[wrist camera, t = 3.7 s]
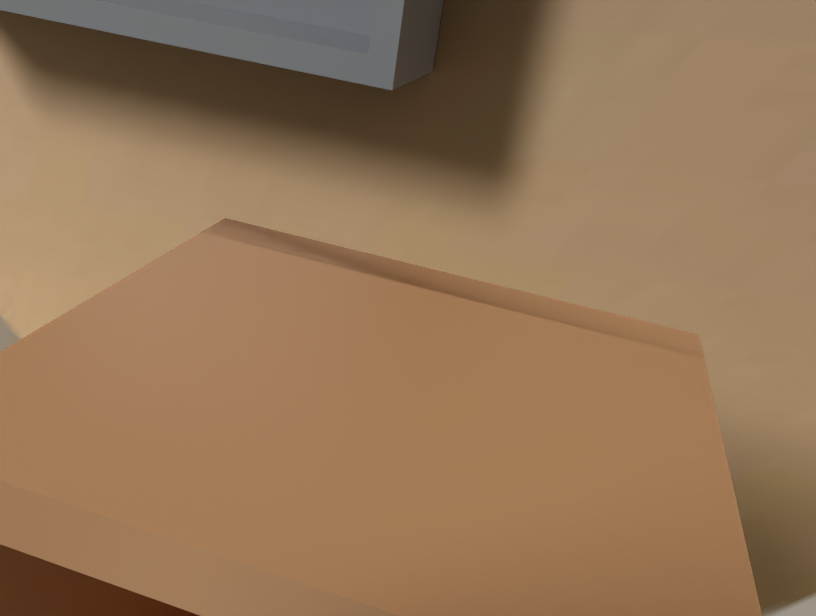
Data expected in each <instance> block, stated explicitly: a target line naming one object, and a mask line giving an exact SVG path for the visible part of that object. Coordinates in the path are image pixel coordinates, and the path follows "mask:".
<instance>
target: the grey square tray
mask: <svg viewBox="0 0 816 616" xmlns="http://www.w3.org/2000/svg"><path fill="white" fill-rule="evenodd" d="M443 2H444V0H0V10H2V11H7V12H12V13H17V14H22V15H27V16H31V17H36V18H41V19H46V20H51V21H56V22H61V23H66V24H70V25H75V26H80V27H85V28H90V29H95V30H100V31H105V32H109V33H114V34H119V35H124V36H129V37H134V38H139V39H144V40H148V41H153V42H158V43H163V44H168V45H173V46H178V47H183V48H187V49H192V50H197V51H202V52H207V53H212V54H217V55H222V56H226V57H231V58H236V59H241V60H246V61H251V62H256V63H261V64H266V65H270V66H275V67H280V68H285V69H290V70H295V71H300V72H305V73H309V74H314V75H319V76H324V77H329V78H334V79H339V80H344V81H348V82H353V83H358V84H363V85H368V86H373V87H378V88H383V89H387V90H394V89H397V88H399V87H401V86H403V85H405V84H407V83H409V82H412V81H414V80H416V79H418V78H420V77H422V76H424V75H426V74H429V73H431V72H433V66H434V59H435V53H436V47H437V40H438V34H439V28H440V21H441V15H442V9H443Z"/></svg>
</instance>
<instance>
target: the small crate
mask: <svg viewBox="0 0 816 616" xmlns="http://www.w3.org/2000/svg"><path fill="white" fill-rule="evenodd" d="M0 616H762V613H761V608H760V604H759V599H758V595H757V590H756V586H755V582H754V577H753V573H752V568H751V564H750V559H749V555H748V550H747V546H746V542H745V537H744V533H743V528H742V524H741V519H740V515H739V510H738V506H737V502H736V497H735V493H734V488H733V484H732V479H731V475H730V471H729V466H728V462H727V457H726V453H725V448H724V444H723V439H722V435H721V431H720V426H719V422H718V417H717V413H716V408H715V404H714V399H713V395H712V391H711V386H710V382H709V377H708V373H707V368H706V364H705V360H704V355H703V351H702V346H701V342H700V337H699V335H697V334H693V333H689V332H685V331H681V330H677V329H673V328H669V327H665V326H661V325H657V324H653V323H648V322H644V321H640V320H636V319H632V318H628V317H624V316H620V315H616V314H612V313H608V312H604V311H600V310H596V309H592V308H588V307H584V306H579V305H575V304H571V303H567V302H563V301H559V300H555V299H551V298H547V297H543V296H539V295H535V294H531V293H527V292H523V291H519V290H515V289H510V288H506V287H502V286H498V285H494V284H490V283H486V282H482V281H478V280H474V279H470V278H466V277H462V276H458V275H454V274H450V273H446V272H441V271H437V270H433V269H429V268H425V267H421V266H417V265H413V264H409V263H405V262H401V261H397V260H393V259H389V258H385V257H381V256H377V255H372V254H368V253H364V252H360V251H356V250H352V249H348V248H344V247H340V246H336V245H332V244H328V243H324V242H320V241H316V240H312V239H308V238H303V237H299V236H295V235H291V234H287V233H283V232H279V231H275V230H271V229H267V228H263V227H259V226H255V225H251V224H247V223H243V222H238V221H234V220H230V219H226V218H225V219H223V220H221V221H220V222H218V223H216V224H215V225H213V226H211V227H210V228H208V229H206V230H205V231H203V232H201V233H200V234H198V235H196V236H194V237H193V238H191V239H189V240H188V241H186V242H184V243H183V244H181V245H179V246H178V247H176V248H174V249H173V250H171V251H169V252H168V253H166V254H164V255H162V256H161V257H159V258H157V259H156V260H154V261H152V262H151V263H149V264H147V265H146V266H144V267H142V268H141V269H139V270H137V271H135V272H134V273H132V274H130V275H129V276H127V277H125V278H124V279H122V280H120V281H119V282H117V283H115V284H114V285H112V286H110V287H109V288H107V289H105V290H103V291H102V292H100V293H98V294H97V295H95V296H93V297H92V298H90V299H88V300H87V301H85V302H83V303H82V304H80V305H78V306H77V307H75V308H73V309H71V310H70V311H68V312H66V313H65V314H63V315H61V316H60V317H58V318H56V319H55V320H53V321H51V322H50V323H48V324H46V325H44V326H43V327H41V328H39V329H38V330H36V331H34V332H33V333H31V334H29V335H28V336H26V337H24V338H23V339H21V340H19V341H18V342H16V343H14V344H13V345H11V346H9V347H7V348H6V349H4V350H2V351H1V352H0Z"/></svg>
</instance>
